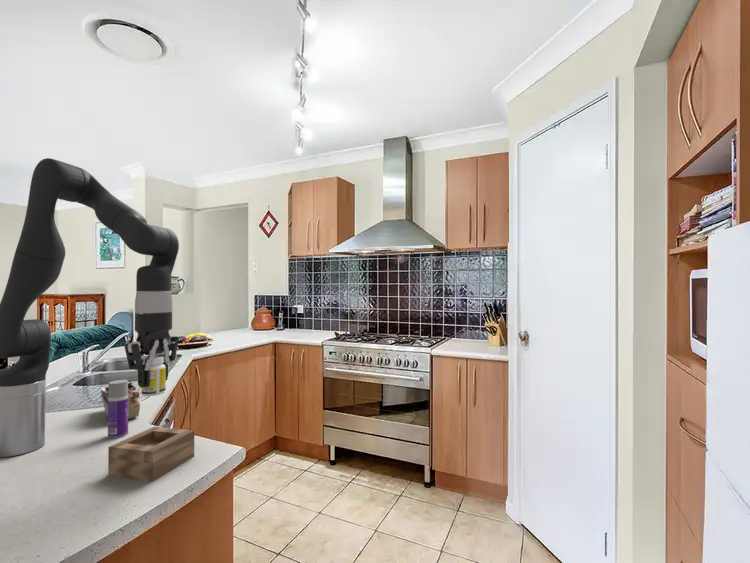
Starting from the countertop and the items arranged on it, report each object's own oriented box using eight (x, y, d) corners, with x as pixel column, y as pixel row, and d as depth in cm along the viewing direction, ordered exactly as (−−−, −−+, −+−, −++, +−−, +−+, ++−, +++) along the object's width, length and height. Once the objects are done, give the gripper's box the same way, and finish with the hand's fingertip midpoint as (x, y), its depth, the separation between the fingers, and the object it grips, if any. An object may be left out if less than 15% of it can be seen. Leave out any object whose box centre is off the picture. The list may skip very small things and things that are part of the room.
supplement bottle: (160, 389, 88) (161, 355, 88) (168, 393, 85) (169, 357, 85) (138, 394, 84) (138, 357, 84) (145, 397, 81) (146, 360, 81)
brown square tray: (108, 476, 79) (108, 446, 80) (153, 452, 91) (154, 426, 91) (153, 482, 76) (153, 451, 77) (194, 457, 88) (194, 430, 88)
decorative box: (86, 429, 106) (87, 396, 106) (89, 412, 122) (90, 383, 123) (140, 420, 114) (140, 389, 114) (136, 404, 130) (136, 377, 130)
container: (130, 434, 102) (130, 381, 102) (109, 440, 98) (110, 384, 99) (125, 430, 105) (126, 378, 106) (105, 435, 102) (106, 381, 102)
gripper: (163, 309, 92) (162, 376, 92) (113, 312, 78) (112, 391, 78) (189, 309, 91) (188, 377, 91) (143, 312, 77) (142, 393, 77)
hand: (153, 383), depth 84 cm, fingers closed on supplement bottle, 4 cm apart
